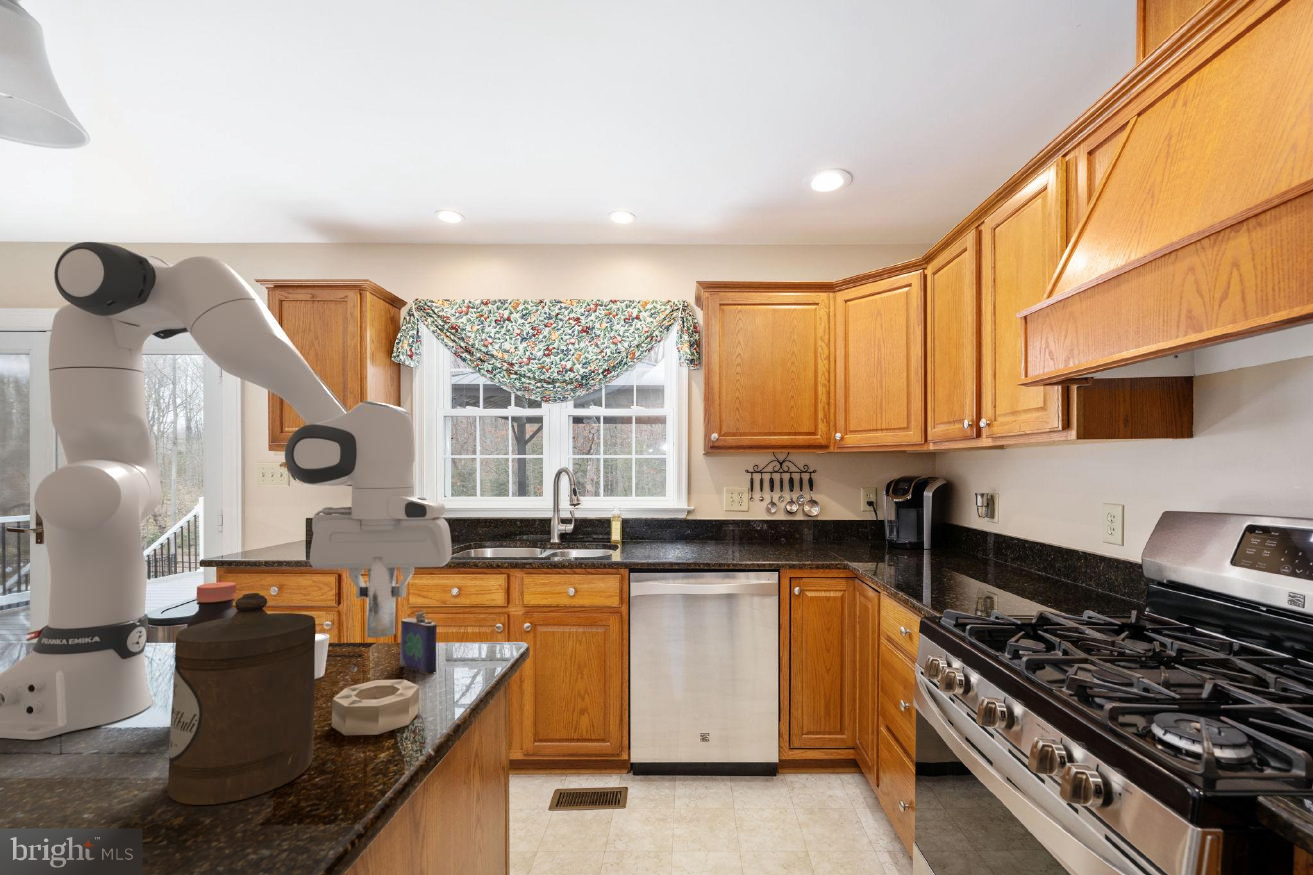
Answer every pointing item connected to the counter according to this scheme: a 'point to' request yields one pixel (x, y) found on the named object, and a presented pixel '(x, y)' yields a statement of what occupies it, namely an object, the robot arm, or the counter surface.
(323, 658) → the white short cylinder
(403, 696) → the bead
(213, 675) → the wooden container
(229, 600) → the bottle
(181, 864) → the counter surface
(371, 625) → the white candle
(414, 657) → the flask
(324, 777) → the counter surface
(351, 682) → the counter surface
